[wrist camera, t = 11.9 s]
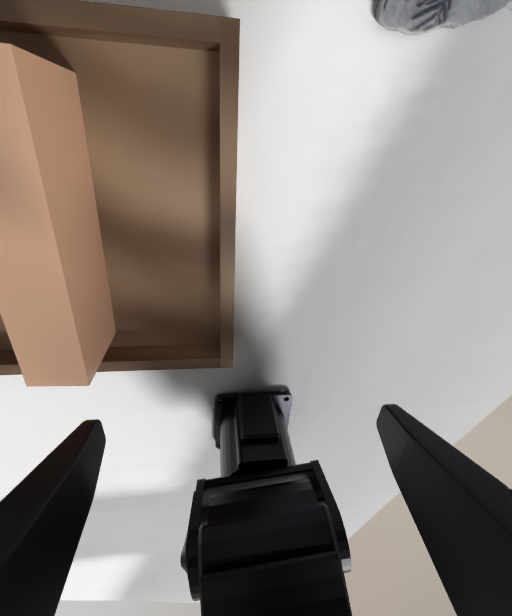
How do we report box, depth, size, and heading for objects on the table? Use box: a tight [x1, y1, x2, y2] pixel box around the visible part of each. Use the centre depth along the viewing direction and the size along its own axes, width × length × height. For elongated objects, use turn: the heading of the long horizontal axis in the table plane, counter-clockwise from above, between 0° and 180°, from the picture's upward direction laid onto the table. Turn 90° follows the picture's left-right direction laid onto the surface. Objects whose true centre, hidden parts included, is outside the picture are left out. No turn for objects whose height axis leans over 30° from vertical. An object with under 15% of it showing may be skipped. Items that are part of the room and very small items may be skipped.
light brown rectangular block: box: [0, 43, 116, 386], centre depth 15 cm, size 14×3×5 cm, turn 174°
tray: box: [0, 0, 240, 375], centre depth 16 cm, size 18×18×2 cm
